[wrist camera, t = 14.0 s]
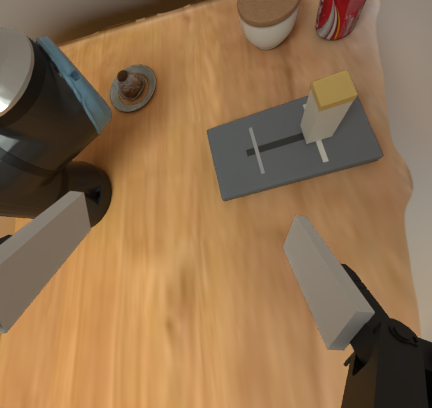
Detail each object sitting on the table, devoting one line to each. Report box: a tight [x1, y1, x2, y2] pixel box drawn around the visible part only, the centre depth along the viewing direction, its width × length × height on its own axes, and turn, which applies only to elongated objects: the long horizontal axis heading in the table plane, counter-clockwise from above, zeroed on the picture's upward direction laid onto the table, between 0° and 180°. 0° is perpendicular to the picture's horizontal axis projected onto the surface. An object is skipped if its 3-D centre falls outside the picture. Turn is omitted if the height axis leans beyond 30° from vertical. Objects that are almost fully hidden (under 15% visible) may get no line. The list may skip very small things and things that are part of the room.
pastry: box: [110, 65, 156, 112], centre depth 47 cm, size 12×12×5 cm
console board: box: [206, 95, 383, 201], centre depth 37 cm, size 26×14×3 cm, turn 102°
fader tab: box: [300, 70, 358, 144], centre depth 30 cm, size 4×4×10 cm
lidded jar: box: [237, 0, 300, 50], centre depth 39 cm, size 11×11×9 cm
